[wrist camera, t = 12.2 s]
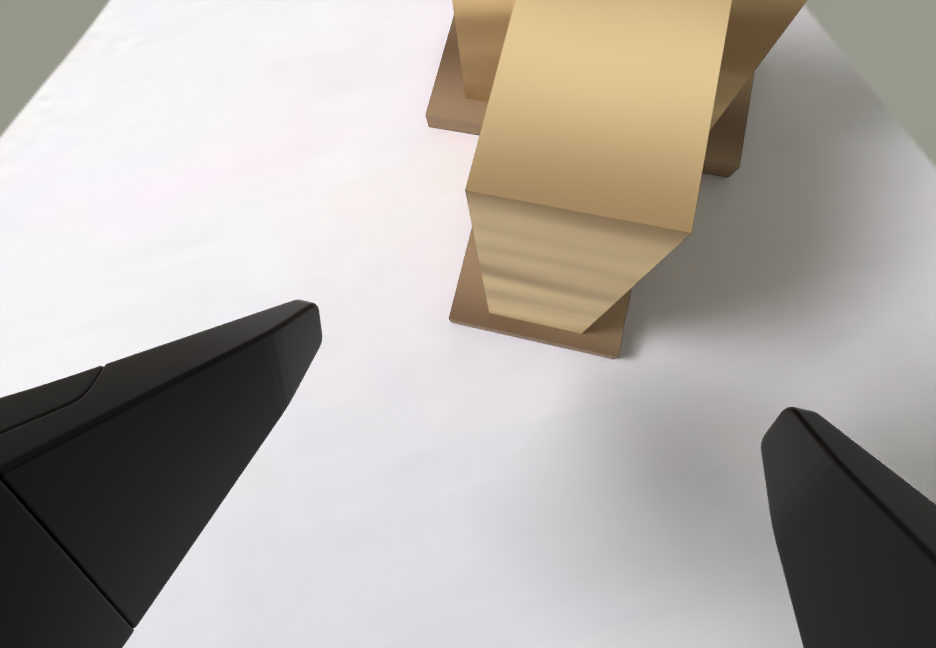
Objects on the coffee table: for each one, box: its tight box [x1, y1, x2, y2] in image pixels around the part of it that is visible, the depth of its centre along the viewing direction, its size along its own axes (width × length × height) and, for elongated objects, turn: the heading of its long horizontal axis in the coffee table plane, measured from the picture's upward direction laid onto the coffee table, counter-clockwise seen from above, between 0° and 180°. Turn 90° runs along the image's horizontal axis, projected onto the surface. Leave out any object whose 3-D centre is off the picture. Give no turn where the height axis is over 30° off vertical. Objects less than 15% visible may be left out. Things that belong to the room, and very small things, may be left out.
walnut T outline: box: [426, 17, 754, 359], centre depth 18 cm, size 14×13×1 cm
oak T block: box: [452, 0, 807, 334], centre depth 13 cm, size 12×10×10 cm
